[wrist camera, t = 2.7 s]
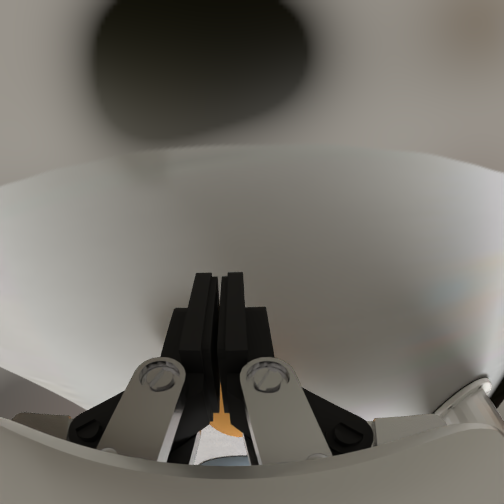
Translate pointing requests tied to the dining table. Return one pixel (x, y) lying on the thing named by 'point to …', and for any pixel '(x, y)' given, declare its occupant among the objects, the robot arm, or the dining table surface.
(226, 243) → the dining table surface
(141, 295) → the dining table surface
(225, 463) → the disc
